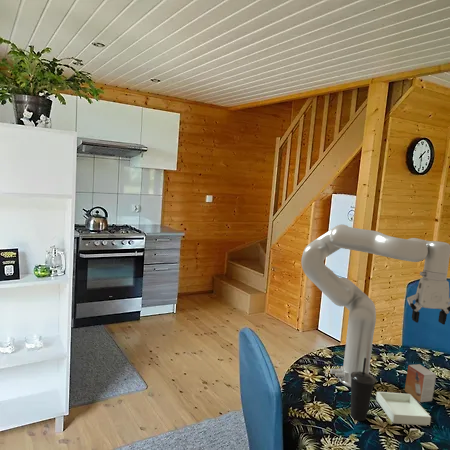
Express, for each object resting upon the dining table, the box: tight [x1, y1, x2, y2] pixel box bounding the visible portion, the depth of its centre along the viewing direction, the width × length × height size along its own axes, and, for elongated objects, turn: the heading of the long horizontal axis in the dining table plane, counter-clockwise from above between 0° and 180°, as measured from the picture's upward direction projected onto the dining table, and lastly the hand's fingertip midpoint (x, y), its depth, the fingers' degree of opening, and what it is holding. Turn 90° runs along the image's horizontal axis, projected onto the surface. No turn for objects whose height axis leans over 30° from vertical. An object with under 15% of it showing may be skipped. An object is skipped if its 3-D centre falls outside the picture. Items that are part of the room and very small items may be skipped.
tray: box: [375, 391, 432, 427], centre depth 135 cm, size 12×14×3 cm
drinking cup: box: [350, 358, 376, 422], centre depth 129 cm, size 8×8×20 cm
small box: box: [404, 363, 437, 403], centre depth 146 cm, size 8×6×10 cm
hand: (428, 322), depth 144 cm, fingers open, 9 cm apart
